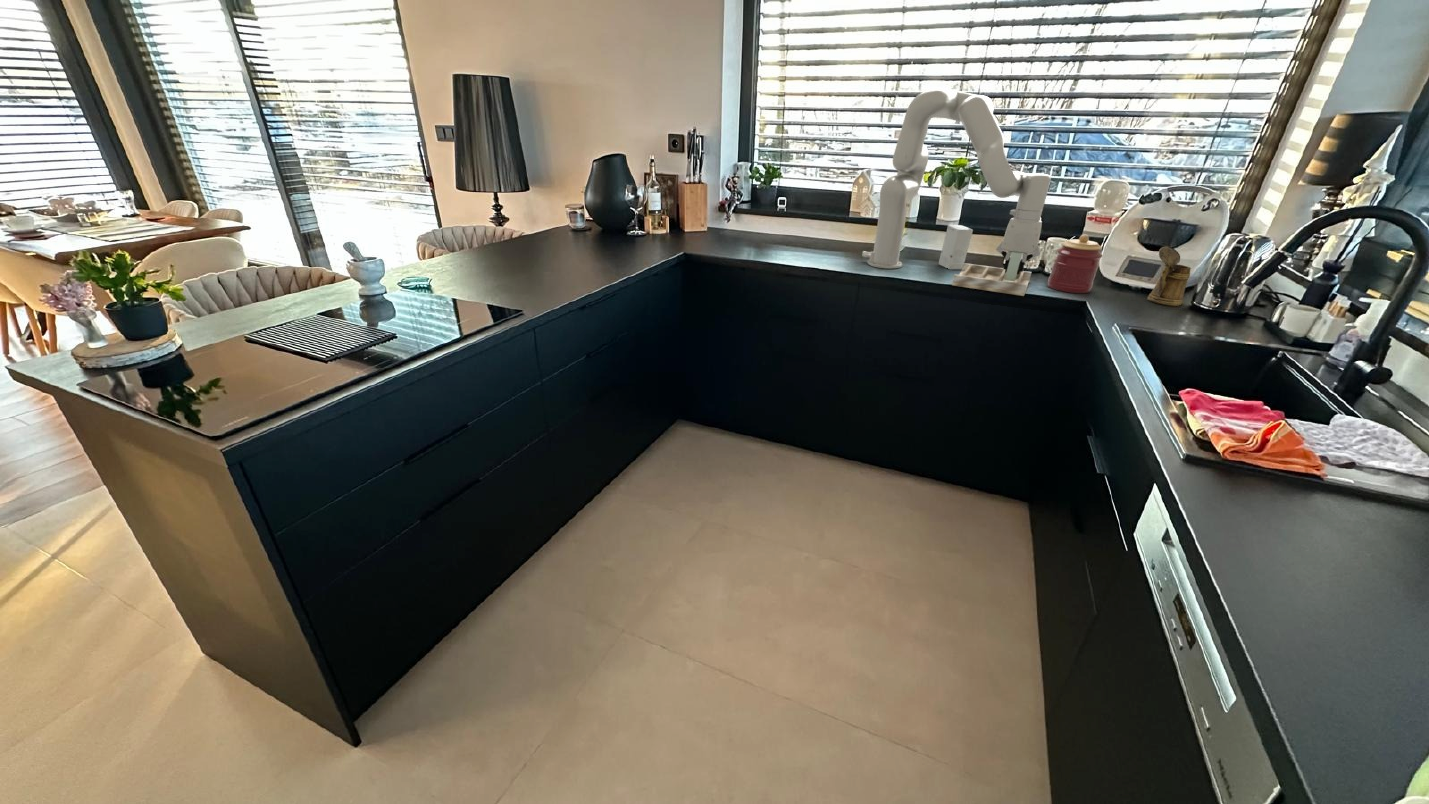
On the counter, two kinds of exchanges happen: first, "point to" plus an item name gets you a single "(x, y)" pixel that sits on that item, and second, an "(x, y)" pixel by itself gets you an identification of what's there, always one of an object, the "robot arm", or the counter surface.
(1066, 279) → the canister
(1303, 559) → the counter surface
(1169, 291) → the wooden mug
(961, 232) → the skincare box
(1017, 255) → the grey-green flat block
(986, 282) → the divided tray
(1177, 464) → the counter surface
